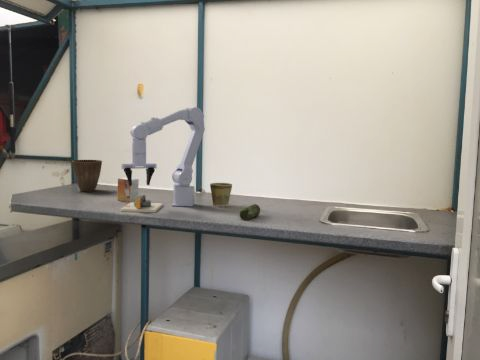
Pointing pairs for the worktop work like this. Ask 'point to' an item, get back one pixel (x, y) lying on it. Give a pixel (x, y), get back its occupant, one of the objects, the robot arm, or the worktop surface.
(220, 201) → the ceramic cup
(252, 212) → the vegetable
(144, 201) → the lever door handle
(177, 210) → the worktop surface
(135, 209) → the console plate
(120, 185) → the small box
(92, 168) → the plant pot
